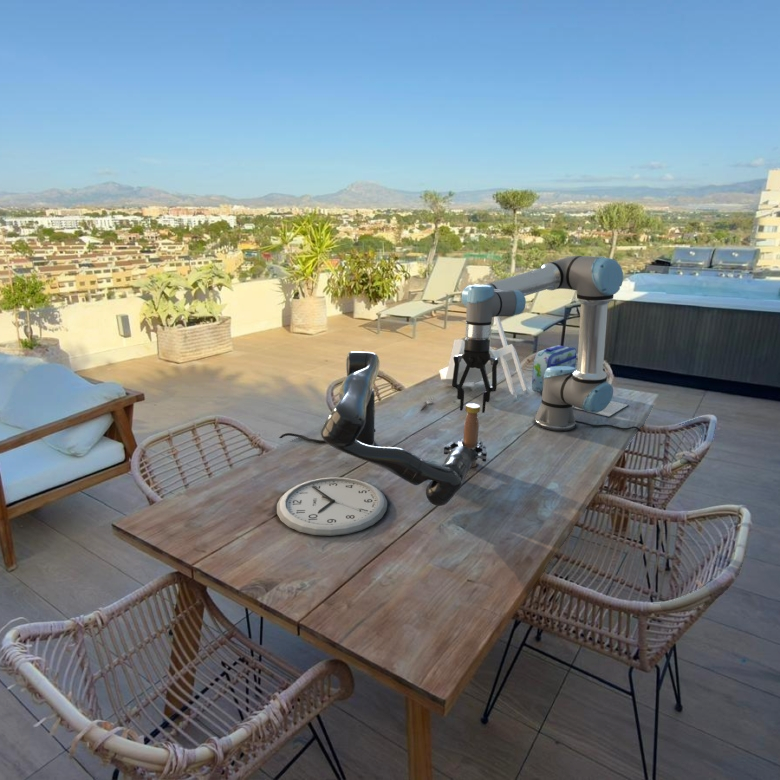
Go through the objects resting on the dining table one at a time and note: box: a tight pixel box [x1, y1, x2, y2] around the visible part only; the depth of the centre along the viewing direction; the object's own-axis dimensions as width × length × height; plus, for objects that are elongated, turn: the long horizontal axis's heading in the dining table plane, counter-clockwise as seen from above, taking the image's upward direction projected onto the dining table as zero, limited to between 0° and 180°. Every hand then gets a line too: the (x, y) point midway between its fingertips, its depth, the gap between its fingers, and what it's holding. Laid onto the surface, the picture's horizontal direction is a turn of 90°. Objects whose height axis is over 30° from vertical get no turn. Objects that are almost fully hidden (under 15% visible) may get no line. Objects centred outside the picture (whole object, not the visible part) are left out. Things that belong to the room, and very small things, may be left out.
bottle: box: [462, 412, 480, 468], centre depth 166 cm, size 5×5×20 cm
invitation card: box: [573, 400, 629, 418], centre depth 226 cm, size 21×1×15 cm
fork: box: [420, 396, 435, 411], centre depth 223 cm, size 3×16×2 cm, turn 160°
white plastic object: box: [438, 316, 531, 400], centre depth 245 cm, size 37×45×31 cm
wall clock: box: [276, 476, 388, 537], centre depth 142 cm, size 30×2×30 cm
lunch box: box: [531, 345, 577, 394], centre depth 245 cm, size 26×11×21 cm, turn 134°
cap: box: [465, 402, 481, 414], centre depth 163 cm, size 4×4×2 cm
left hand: (472, 442), depth 169 cm, fingers closed on bottle, 4 cm apart
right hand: (472, 410), depth 163 cm, fingers open, 6 cm apart
